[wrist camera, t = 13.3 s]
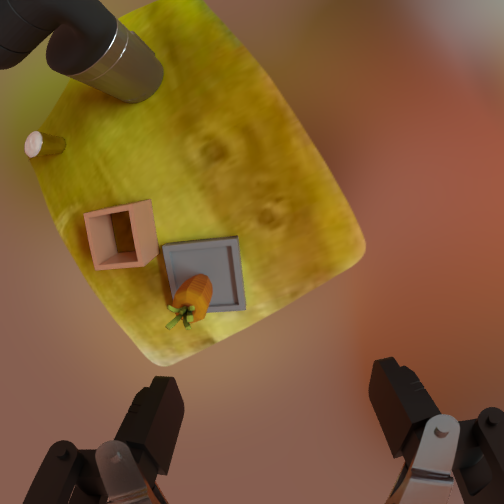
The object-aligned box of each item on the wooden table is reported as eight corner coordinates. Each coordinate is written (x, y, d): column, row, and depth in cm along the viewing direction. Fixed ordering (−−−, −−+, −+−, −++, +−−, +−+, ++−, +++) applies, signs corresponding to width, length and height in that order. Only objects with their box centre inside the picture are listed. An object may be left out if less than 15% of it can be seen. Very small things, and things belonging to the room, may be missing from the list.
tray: (166, 243, 44) (162, 246, 42) (238, 235, 43) (237, 238, 41) (179, 308, 47) (176, 313, 45) (246, 304, 46) (245, 310, 44)
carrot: (191, 290, 44) (163, 341, 30) (188, 262, 43) (156, 304, 29) (220, 291, 44) (203, 344, 30) (219, 262, 43) (198, 306, 29)
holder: (105, 207, 42) (83, 213, 35) (150, 199, 42) (132, 203, 35) (115, 257, 44) (95, 270, 38) (159, 253, 44) (143, 266, 37)
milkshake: (55, 165, 40) (21, 166, 30) (51, 141, 39) (16, 139, 29) (71, 154, 39) (36, 153, 30) (66, 129, 38) (32, 125, 28)
